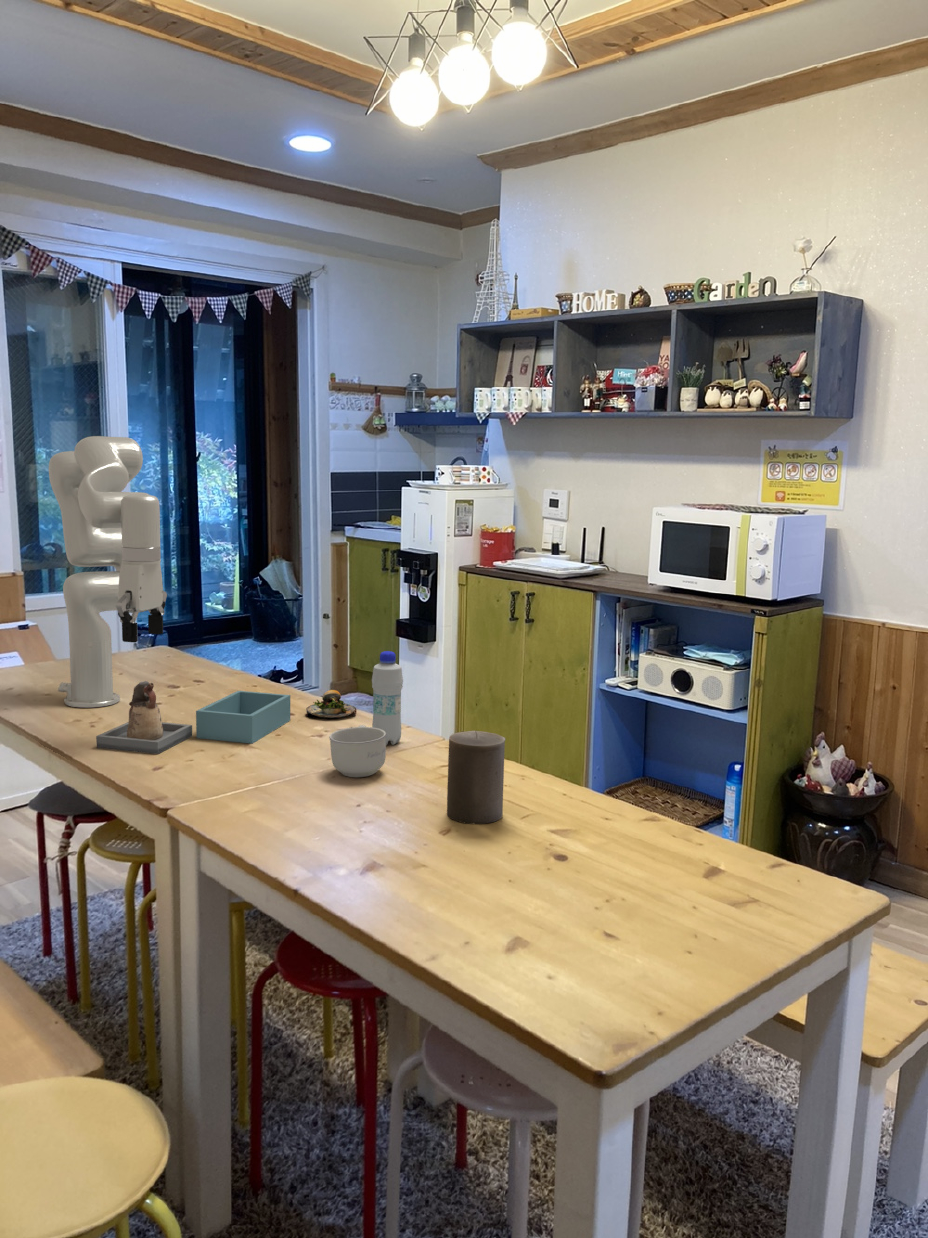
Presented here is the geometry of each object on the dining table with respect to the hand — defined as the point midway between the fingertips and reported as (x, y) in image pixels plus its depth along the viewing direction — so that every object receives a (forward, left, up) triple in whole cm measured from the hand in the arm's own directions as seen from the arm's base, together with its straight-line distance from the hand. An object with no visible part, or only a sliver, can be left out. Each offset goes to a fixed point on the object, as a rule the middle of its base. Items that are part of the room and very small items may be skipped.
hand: (143, 637), depth 206 cm
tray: (0, 0, -22) cm, 22 cm away
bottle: (+48, +16, -22) cm, 55 cm away
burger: (+29, +34, -23) cm, 50 cm away
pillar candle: (+76, -21, -23) cm, 82 cm away
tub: (+15, +16, -22) cm, 31 cm away
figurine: (0, 0, -21) cm, 21 cm away
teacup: (+49, -4, -23) cm, 54 cm away
